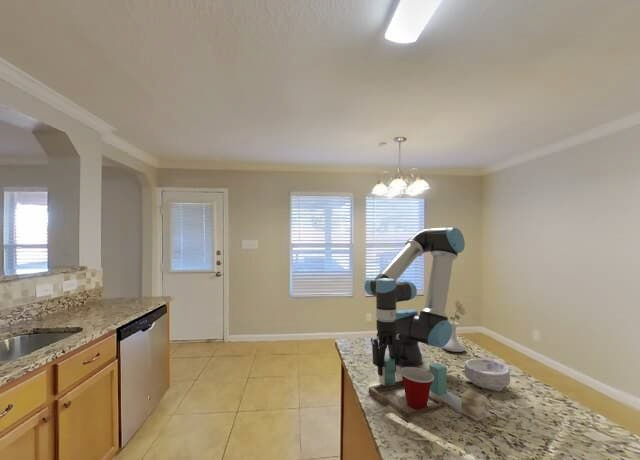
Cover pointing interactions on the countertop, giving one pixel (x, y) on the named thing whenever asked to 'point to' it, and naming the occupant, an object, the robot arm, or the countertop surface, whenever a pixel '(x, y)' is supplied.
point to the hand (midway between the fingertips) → (387, 382)
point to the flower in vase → (454, 342)
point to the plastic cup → (416, 386)
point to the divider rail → (460, 413)
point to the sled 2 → (440, 391)
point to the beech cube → (473, 403)
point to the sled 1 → (393, 383)
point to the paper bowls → (487, 373)
